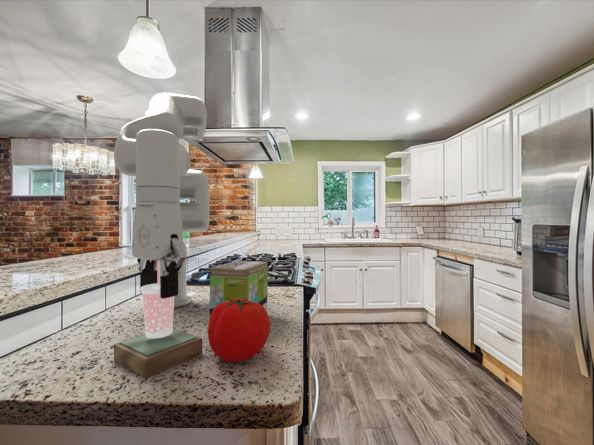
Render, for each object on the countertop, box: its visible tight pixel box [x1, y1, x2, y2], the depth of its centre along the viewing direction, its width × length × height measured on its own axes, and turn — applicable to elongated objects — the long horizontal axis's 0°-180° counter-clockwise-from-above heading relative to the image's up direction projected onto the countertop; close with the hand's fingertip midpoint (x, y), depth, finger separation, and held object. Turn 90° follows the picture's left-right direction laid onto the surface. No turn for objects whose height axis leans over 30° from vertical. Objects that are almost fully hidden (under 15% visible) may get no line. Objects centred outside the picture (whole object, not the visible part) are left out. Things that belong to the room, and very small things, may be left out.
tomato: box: [207, 296, 271, 364], centre depth 55 cm, size 12×12×11 cm
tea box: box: [208, 260, 269, 319], centre depth 76 cm, size 15×10×15 cm, turn 168°
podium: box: [113, 327, 203, 379], centre depth 56 cm, size 11×11×3 cm
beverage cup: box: [139, 260, 175, 339], centre depth 56 cm, size 6×6×14 cm
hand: (159, 293), depth 56 cm, fingers closed on beverage cup, 6 cm apart
